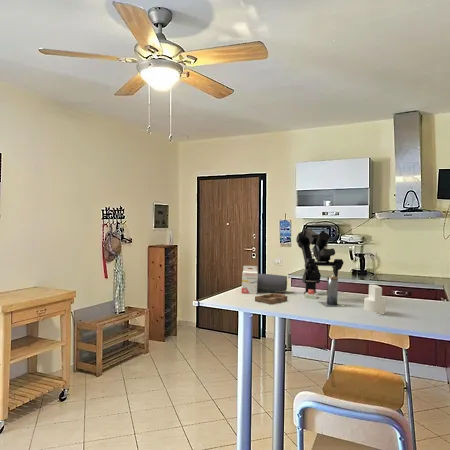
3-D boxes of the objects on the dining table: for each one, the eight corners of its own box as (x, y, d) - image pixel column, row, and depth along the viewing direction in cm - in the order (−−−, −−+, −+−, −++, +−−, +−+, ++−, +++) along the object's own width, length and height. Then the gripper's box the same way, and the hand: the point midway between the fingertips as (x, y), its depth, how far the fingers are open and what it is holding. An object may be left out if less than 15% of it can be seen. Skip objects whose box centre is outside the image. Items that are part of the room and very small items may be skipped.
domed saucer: (273, 294, 219) (274, 292, 219) (286, 295, 217) (286, 294, 217) (270, 296, 213) (270, 295, 213) (283, 298, 210) (283, 296, 210)
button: (308, 293, 211) (308, 289, 211) (314, 293, 210) (314, 289, 210) (307, 294, 208) (307, 290, 208) (313, 294, 207) (313, 290, 207)
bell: (327, 302, 195) (328, 274, 195) (337, 303, 194) (338, 275, 194) (326, 304, 191) (326, 276, 191) (336, 305, 189) (337, 276, 189)
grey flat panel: (317, 304, 198) (317, 301, 198) (337, 304, 199) (337, 301, 199) (326, 309, 186) (326, 306, 186) (347, 309, 187) (347, 306, 187)
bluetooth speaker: (286, 291, 231) (287, 274, 231) (285, 294, 222) (286, 276, 222) (247, 289, 236) (248, 271, 236) (244, 291, 227) (245, 273, 227)
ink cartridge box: (241, 293, 221) (242, 266, 221) (241, 291, 226) (242, 265, 226) (257, 294, 220) (257, 267, 220) (257, 292, 225) (258, 266, 225)
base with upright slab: (361, 310, 187) (362, 284, 187) (380, 310, 187) (381, 284, 187) (367, 314, 178) (368, 287, 178) (388, 315, 178) (389, 288, 178)
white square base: (306, 298, 213) (306, 292, 213) (317, 299, 211) (317, 293, 210) (304, 300, 207) (304, 294, 207) (315, 301, 205) (316, 295, 205)
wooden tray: (272, 297, 210) (272, 293, 210) (287, 300, 203) (287, 296, 203) (254, 301, 201) (255, 296, 201) (269, 304, 194) (269, 299, 194)
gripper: (307, 242, 203) (313, 266, 192) (342, 243, 205) (351, 267, 194) (302, 256, 211) (307, 280, 200) (336, 257, 213) (344, 281, 202)
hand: (327, 277), depth 199 cm, fingers open, 9 cm apart
